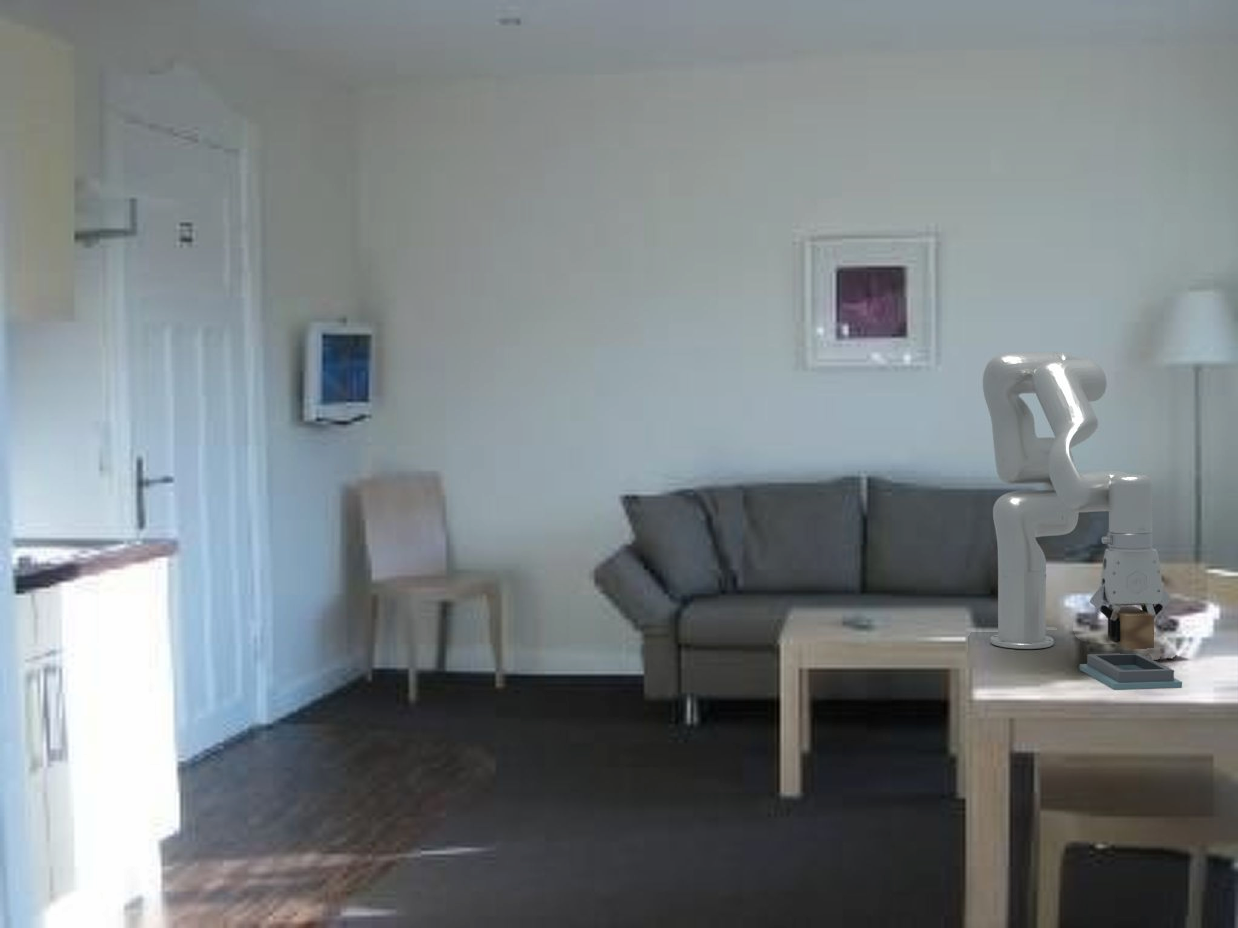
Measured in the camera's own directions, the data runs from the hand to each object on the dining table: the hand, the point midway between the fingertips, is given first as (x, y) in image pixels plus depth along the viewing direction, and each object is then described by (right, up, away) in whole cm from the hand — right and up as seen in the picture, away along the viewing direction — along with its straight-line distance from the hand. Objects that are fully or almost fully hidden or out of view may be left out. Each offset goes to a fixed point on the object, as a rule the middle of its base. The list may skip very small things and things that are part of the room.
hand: (1130, 639), depth 275 cm
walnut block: (0, -1, 0) cm, 1 cm away
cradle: (0, -7, +1) cm, 7 cm away
